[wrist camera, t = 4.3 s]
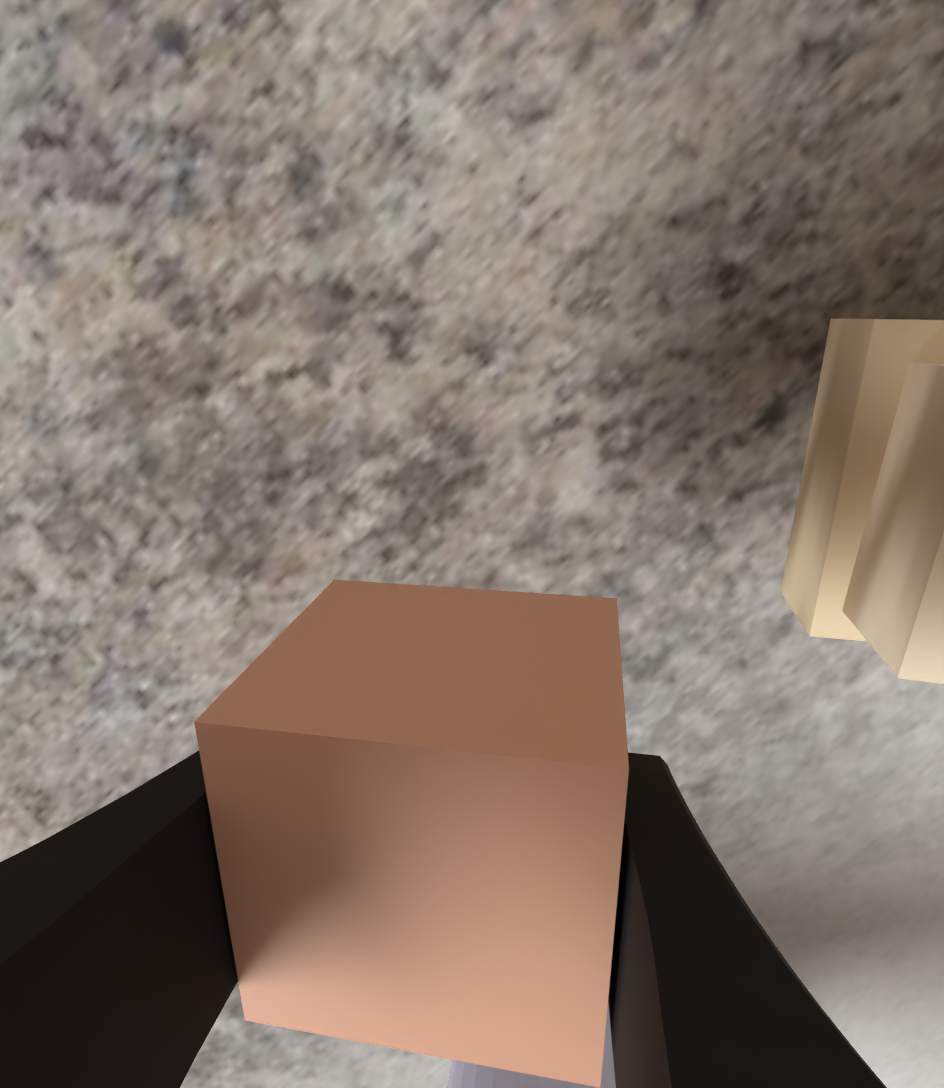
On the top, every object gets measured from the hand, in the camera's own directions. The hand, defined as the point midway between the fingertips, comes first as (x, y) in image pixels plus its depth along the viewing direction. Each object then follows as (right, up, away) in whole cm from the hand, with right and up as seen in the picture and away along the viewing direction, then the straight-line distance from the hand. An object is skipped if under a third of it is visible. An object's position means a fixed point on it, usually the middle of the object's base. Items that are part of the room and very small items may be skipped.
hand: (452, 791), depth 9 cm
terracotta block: (0, +1, +2) cm, 2 cm away
